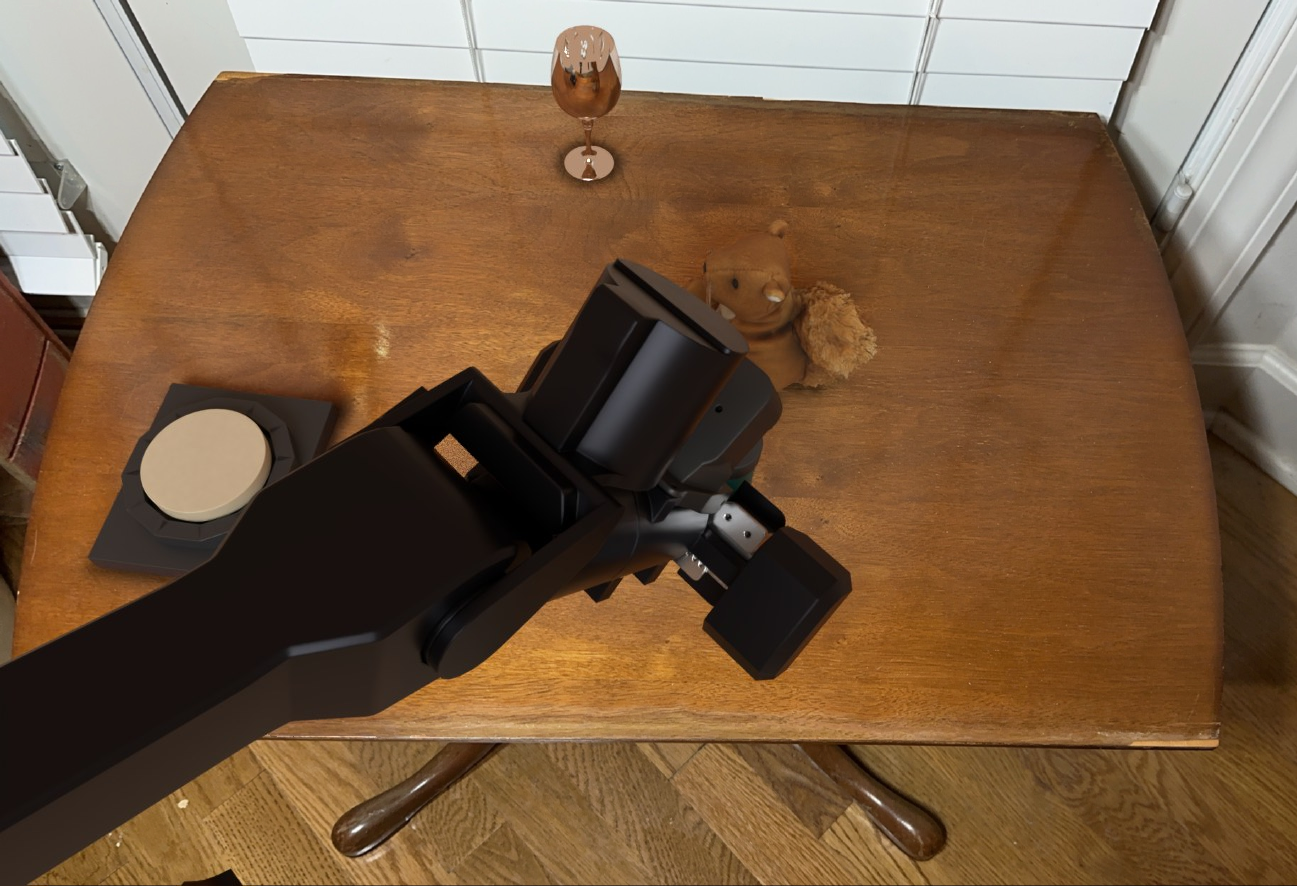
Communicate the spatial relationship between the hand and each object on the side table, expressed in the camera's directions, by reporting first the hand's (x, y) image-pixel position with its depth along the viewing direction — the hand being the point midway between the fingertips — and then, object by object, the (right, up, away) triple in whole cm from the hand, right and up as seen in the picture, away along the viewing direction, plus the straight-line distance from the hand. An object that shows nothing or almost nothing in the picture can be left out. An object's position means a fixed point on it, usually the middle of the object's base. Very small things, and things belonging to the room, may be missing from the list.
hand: (733, 484), depth 51 cm
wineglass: (-10, +27, +31) cm, 43 cm away
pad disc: (-34, +1, +11) cm, 36 cm away
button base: (-34, -1, +13) cm, 37 cm away
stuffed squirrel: (+4, +8, +20) cm, 22 cm away
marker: (-1, -4, +6) cm, 7 cm away
